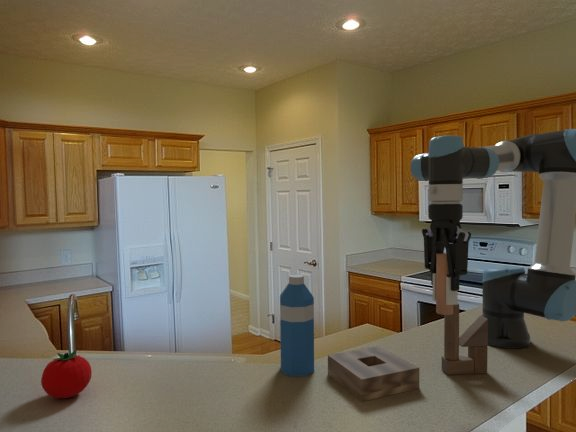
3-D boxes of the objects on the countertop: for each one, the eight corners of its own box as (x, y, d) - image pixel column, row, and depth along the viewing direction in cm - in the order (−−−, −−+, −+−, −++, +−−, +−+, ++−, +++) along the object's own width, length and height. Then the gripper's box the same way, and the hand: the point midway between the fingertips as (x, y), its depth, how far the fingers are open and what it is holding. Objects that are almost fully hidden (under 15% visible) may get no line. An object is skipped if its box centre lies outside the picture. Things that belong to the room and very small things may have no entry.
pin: (445, 309, 102) (445, 252, 101) (456, 313, 98) (457, 254, 98) (432, 311, 100) (432, 253, 100) (444, 315, 97) (444, 255, 96)
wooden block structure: (487, 373, 108) (488, 304, 107) (447, 375, 107) (447, 305, 106) (480, 367, 111) (480, 300, 110) (441, 369, 110) (441, 301, 110)
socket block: (379, 363, 114) (379, 345, 114) (419, 388, 100) (419, 367, 99) (327, 373, 108) (327, 354, 108) (361, 401, 93) (361, 379, 93)
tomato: (58, 385, 103) (57, 345, 103) (100, 385, 103) (99, 345, 102) (31, 406, 93) (29, 362, 92) (77, 407, 92) (76, 362, 92)
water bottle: (318, 364, 114) (318, 273, 113) (309, 378, 106) (308, 280, 104) (286, 360, 117) (285, 272, 116) (274, 374, 109) (273, 278, 108)
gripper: (408, 203, 104) (408, 296, 106) (460, 203, 89) (459, 312, 90) (432, 202, 107) (432, 293, 108) (486, 203, 92) (485, 308, 93)
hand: (444, 301), depth 99 cm, fingers closed on pin, 4 cm apart
